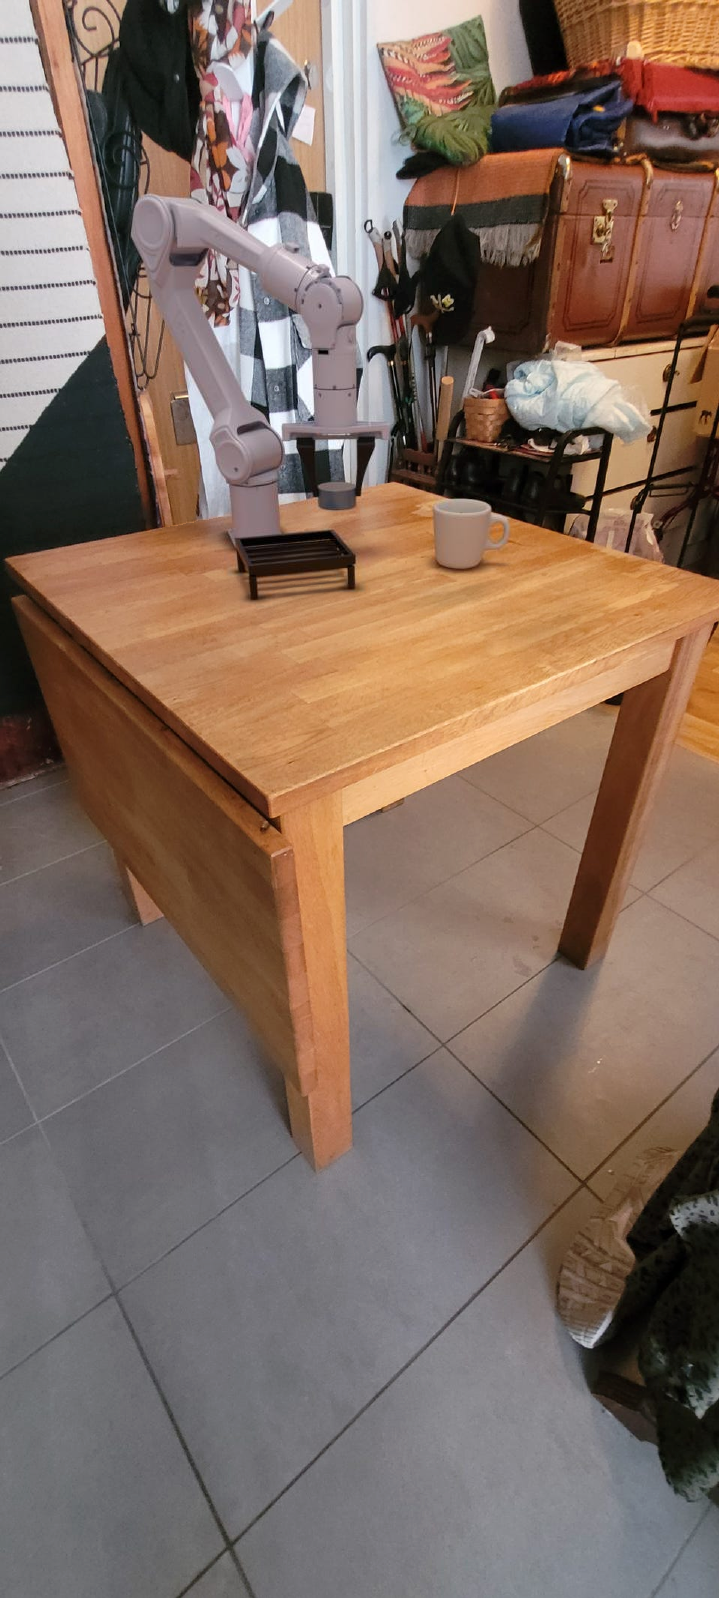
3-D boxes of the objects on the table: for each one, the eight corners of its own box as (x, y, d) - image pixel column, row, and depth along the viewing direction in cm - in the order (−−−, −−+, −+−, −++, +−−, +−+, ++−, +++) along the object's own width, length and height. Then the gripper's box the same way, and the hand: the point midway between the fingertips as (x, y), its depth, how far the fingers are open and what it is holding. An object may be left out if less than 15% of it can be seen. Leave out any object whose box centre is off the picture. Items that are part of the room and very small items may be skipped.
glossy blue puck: (318, 500, 112) (317, 481, 110) (356, 500, 112) (356, 481, 110) (317, 510, 107) (316, 491, 106) (356, 510, 107) (356, 490, 106)
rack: (237, 570, 108) (234, 537, 106) (333, 560, 111) (333, 529, 109) (251, 600, 99) (248, 565, 96) (356, 589, 102) (355, 555, 99)
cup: (504, 556, 112) (510, 499, 108) (507, 574, 106) (514, 514, 101) (430, 554, 113) (433, 497, 108) (429, 572, 107) (432, 513, 102)
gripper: (388, 382, 104) (386, 487, 112) (281, 383, 104) (287, 488, 112) (390, 389, 98) (389, 499, 106) (278, 391, 98) (285, 501, 106)
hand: (337, 495), depth 109 cm, fingers closed on glossy blue puck, 5 cm apart
